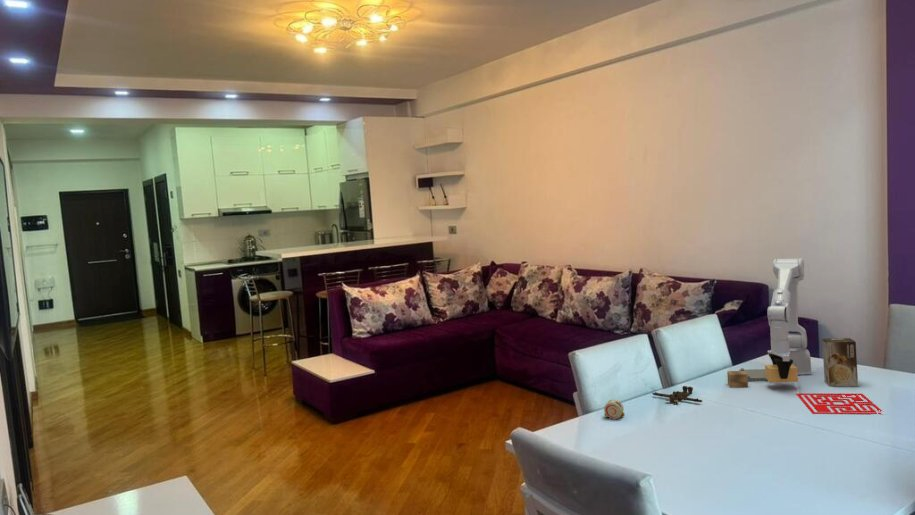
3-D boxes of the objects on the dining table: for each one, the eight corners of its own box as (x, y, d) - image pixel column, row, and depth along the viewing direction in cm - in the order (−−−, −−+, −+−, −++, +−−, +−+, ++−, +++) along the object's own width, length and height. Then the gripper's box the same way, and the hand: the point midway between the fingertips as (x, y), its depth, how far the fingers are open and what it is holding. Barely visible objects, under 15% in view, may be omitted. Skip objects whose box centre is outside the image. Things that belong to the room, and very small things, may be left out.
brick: (792, 377, 222) (791, 363, 221) (798, 381, 216) (797, 367, 216) (765, 378, 223) (764, 364, 223) (770, 382, 218) (769, 368, 218)
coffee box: (852, 381, 220) (851, 337, 219) (858, 387, 214) (857, 341, 213) (823, 381, 223) (821, 338, 222) (828, 386, 217) (827, 342, 216)
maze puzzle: (885, 416, 188) (885, 413, 188) (812, 415, 193) (812, 413, 193) (862, 395, 207) (862, 393, 207) (796, 395, 212) (796, 393, 212)
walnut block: (745, 384, 228) (744, 370, 227) (748, 387, 223) (747, 374, 223) (727, 384, 229) (727, 371, 229) (730, 387, 225) (729, 374, 224)
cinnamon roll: (606, 414, 208) (605, 397, 207) (625, 415, 205) (624, 399, 204) (603, 418, 204) (602, 401, 203) (622, 420, 201) (621, 403, 201)
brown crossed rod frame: (713, 388, 217) (696, 396, 206) (713, 401, 217) (696, 409, 206) (664, 382, 229) (646, 388, 218) (664, 393, 229) (646, 400, 218)
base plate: (772, 372, 239) (772, 367, 239) (781, 380, 227) (781, 376, 227) (739, 372, 242) (738, 368, 242) (746, 381, 230) (746, 376, 230)
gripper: (762, 334, 227) (763, 370, 228) (773, 343, 213) (774, 382, 214) (783, 333, 225) (784, 370, 226) (795, 343, 211) (797, 381, 212)
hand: (781, 375), depth 220 cm, fingers closed on brick, 6 cm apart
